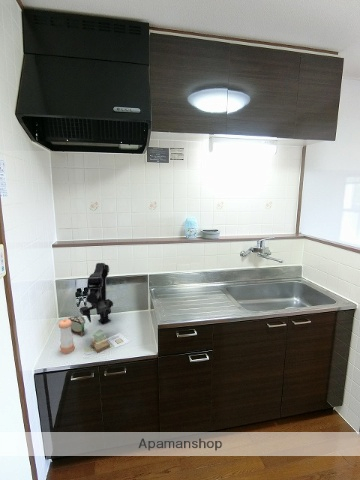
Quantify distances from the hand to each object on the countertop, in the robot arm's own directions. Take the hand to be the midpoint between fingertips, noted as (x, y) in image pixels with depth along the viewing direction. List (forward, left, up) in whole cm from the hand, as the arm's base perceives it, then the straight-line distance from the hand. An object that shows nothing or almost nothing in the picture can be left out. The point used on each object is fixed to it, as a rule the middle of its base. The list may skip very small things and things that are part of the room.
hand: (97, 319), depth 152 cm
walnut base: (+8, -3, -14) cm, 16 cm away
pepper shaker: (-2, -18, -13) cm, 22 cm away
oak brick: (+9, -3, -11) cm, 14 cm away
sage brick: (+8, -3, -8) cm, 12 cm away
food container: (-15, -6, -13) cm, 21 cm away
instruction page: (+9, +8, -13) cm, 18 cm away
